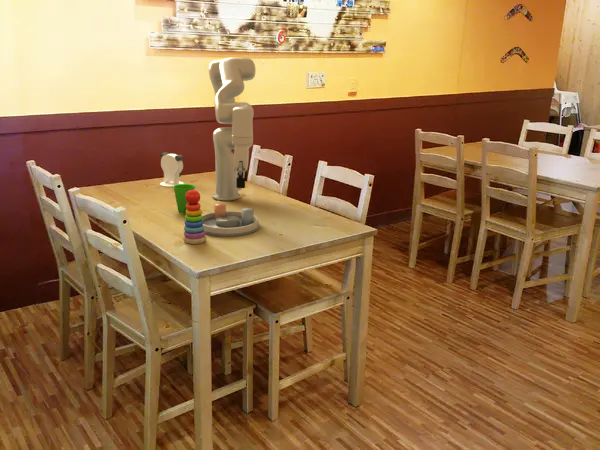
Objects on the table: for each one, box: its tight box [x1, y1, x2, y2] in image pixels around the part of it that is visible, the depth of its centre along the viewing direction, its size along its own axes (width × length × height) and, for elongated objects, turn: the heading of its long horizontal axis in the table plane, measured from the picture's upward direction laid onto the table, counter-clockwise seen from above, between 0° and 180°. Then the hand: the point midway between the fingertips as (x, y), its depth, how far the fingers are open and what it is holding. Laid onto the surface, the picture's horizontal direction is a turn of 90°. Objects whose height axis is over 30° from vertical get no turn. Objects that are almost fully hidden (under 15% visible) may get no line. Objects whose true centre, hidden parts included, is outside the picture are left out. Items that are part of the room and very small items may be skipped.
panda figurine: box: [159, 151, 185, 188], centre depth 283 cm, size 12×11×15 cm
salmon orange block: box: [213, 202, 227, 220], centre depth 228 cm, size 4×4×6 cm
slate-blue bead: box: [241, 207, 255, 226], centre depth 222 cm, size 4×4×6 cm
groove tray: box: [201, 210, 260, 238], centre depth 223 cm, size 24×24×3 cm
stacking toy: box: [182, 189, 207, 245], centre depth 204 cm, size 8×8×19 cm
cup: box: [172, 183, 196, 215], centre depth 239 cm, size 9×9×11 cm
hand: (241, 184), depth 224 cm, fingers open, 9 cm apart
